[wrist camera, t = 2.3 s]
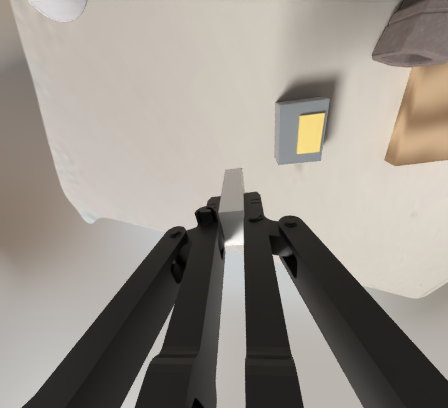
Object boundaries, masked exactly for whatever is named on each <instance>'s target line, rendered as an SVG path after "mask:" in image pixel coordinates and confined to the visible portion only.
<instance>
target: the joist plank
mask: <svg viewBox="0 0 448 408" xmlns="http://www.w3.org/2000/svg"><path fill="white" fill-rule="evenodd" d="M443 160H448V61H447V62H446V63H445V64H442V65H431V66H418V67H412V69H411V73H410V76H409V79H408V83H407V86H406V89H405V93H404V96H403V99H402V103H401V106H400V110H399V113H398V116H397V120H396V123H395V126H394V130H393V133H392V136H391V140H390V143H389V147H388V150H387V153H386V157H385V161H387V162H388V163H390V164H392V165H394V166H400V165H409V164H417V163H426V162H434V161H443Z"/></svg>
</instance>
